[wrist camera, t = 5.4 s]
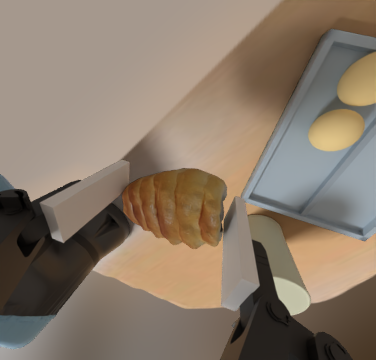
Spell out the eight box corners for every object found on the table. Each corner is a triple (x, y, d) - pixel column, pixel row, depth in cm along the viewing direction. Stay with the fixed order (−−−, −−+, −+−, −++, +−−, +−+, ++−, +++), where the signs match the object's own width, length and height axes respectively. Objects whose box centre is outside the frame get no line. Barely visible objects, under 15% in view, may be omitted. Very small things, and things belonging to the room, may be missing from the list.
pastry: (139, 220, 17) (117, 249, 13) (123, 163, 14) (89, 182, 10) (226, 229, 14) (225, 267, 11) (227, 163, 11) (227, 187, 8)
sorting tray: (240, 195, 27) (241, 200, 25) (322, 35, 16) (331, 28, 15) (357, 233, 25) (364, 241, 23) (540, 80, 14) (574, 77, 13)
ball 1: (294, 140, 20) (310, 149, 16) (316, 104, 18) (340, 104, 14) (328, 150, 20) (354, 161, 16) (355, 114, 18) (392, 117, 14)
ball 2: (318, 100, 18) (343, 99, 14) (346, 52, 16) (387, 35, 12) (358, 110, 17) (396, 112, 14) (393, 62, 15) (452, 48, 11)
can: (247, 207, 28) (258, 269, 17) (293, 227, 27) (333, 304, 17) (224, 236, 32) (222, 300, 22) (263, 254, 32) (280, 327, 21)
